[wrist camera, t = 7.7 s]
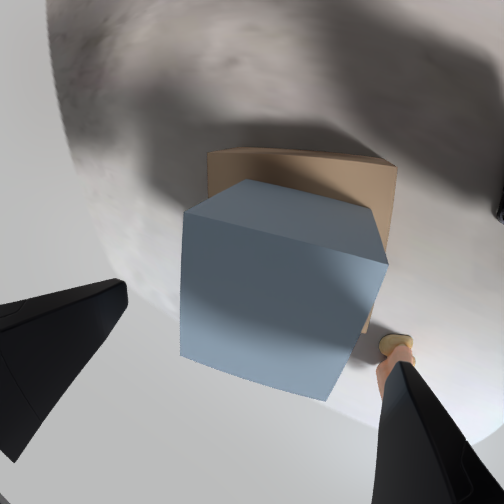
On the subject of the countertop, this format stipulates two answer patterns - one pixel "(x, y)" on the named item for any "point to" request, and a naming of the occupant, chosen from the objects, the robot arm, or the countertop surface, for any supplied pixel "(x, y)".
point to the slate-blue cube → (277, 285)
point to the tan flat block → (311, 178)
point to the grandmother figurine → (393, 356)
